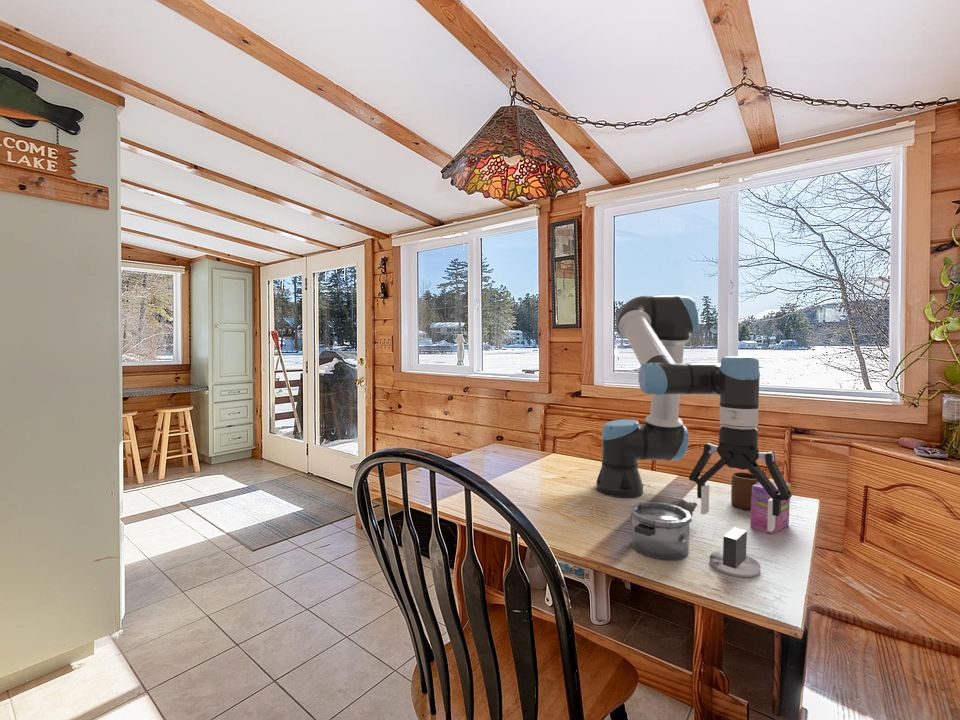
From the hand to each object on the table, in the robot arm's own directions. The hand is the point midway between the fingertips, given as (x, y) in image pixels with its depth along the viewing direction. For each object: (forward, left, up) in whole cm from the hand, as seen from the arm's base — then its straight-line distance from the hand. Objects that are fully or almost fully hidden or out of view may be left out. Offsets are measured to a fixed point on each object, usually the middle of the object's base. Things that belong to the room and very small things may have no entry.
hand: (736, 521), depth 105 cm
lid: (0, 0, -11) cm, 11 cm away
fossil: (-19, +14, -11) cm, 26 cm away
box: (-1, +31, -11) cm, 33 cm away
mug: (-9, +42, -11) cm, 45 cm away
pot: (-16, -3, -11) cm, 20 cm away
